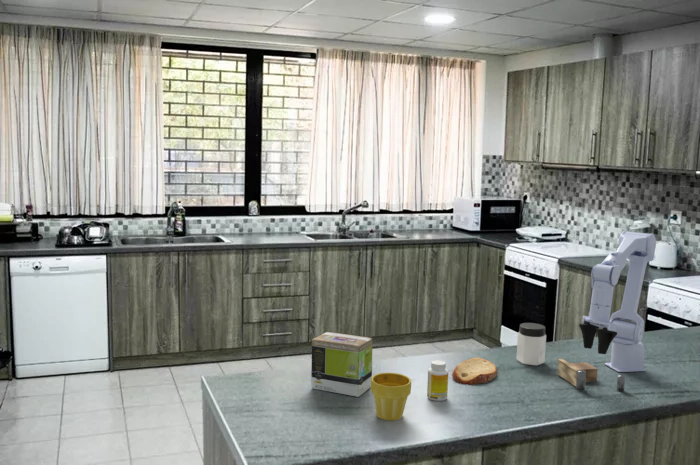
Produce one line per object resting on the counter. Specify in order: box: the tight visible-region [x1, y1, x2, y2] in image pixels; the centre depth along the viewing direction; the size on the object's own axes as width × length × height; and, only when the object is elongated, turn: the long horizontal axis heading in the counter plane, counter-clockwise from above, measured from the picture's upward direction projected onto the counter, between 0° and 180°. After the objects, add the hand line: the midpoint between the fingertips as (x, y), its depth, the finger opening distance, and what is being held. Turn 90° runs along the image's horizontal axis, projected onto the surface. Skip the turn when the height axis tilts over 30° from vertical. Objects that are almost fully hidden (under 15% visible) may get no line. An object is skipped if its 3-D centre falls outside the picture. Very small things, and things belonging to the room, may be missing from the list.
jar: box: [515, 322, 547, 366], centre depth 215 cm, size 9×8×12 cm
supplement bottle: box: [426, 359, 449, 402], centre depth 182 cm, size 6×6×10 cm
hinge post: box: [575, 370, 586, 392], centre depth 191 cm, size 2×2×6 cm
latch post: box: [616, 374, 626, 392], centre depth 191 cm, size 2×2×4 cm
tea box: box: [310, 331, 373, 398], centre depth 187 cm, size 15×10×15 cm, turn 65°
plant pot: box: [370, 372, 412, 421], centre depth 169 cm, size 10×10×10 cm
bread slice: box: [451, 356, 498, 386], centre depth 203 cm, size 18×18×4 cm
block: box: [569, 362, 598, 383], centre depth 201 cm, size 6×6×4 cm
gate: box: [556, 358, 579, 387], centre depth 198 cm, size 11×2×5 cm, turn 11°
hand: (594, 350), depth 193 cm, fingers open, 7 cm apart
